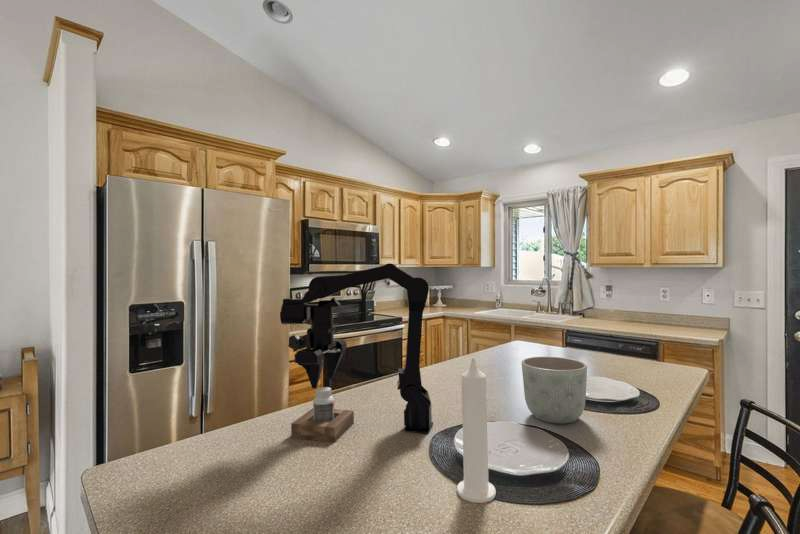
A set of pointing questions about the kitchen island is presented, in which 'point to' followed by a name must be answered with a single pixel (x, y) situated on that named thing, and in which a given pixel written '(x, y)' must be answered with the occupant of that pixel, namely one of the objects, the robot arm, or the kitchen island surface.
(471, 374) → the candle
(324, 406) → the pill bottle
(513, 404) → the kitchen island surface
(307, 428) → the socket block
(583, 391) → the planter
